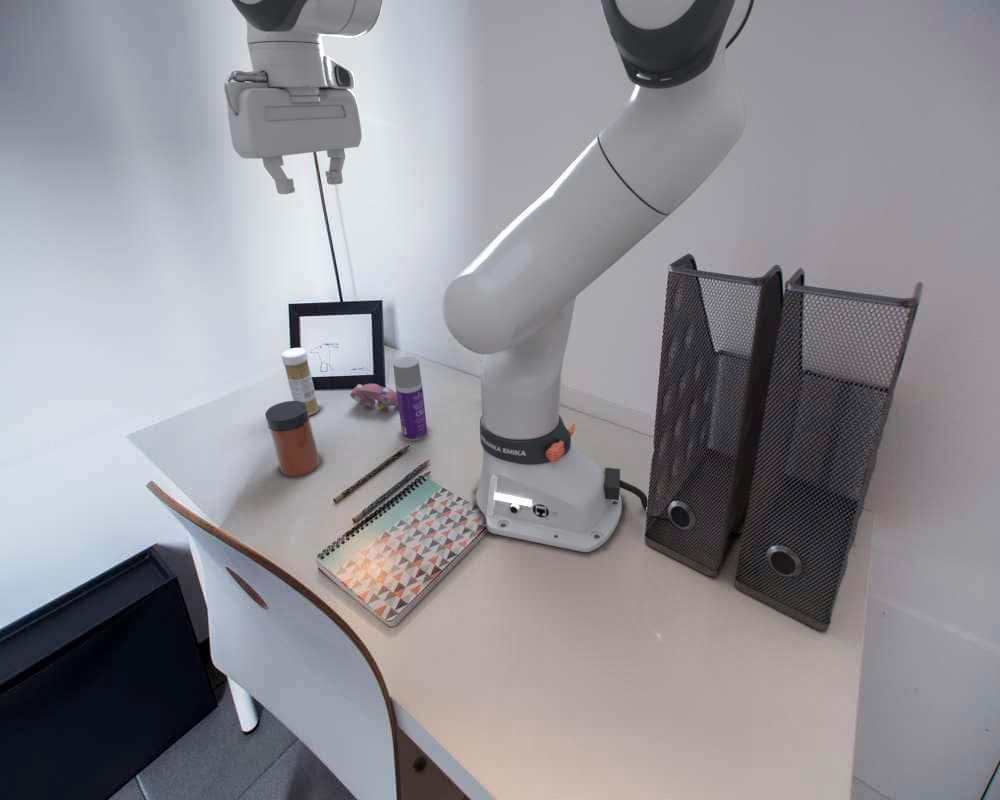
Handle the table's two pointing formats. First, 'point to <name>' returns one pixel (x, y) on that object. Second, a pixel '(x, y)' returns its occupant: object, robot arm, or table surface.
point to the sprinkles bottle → (300, 378)
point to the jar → (296, 450)
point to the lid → (287, 415)
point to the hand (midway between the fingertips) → (312, 188)
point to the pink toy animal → (374, 396)
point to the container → (410, 398)
